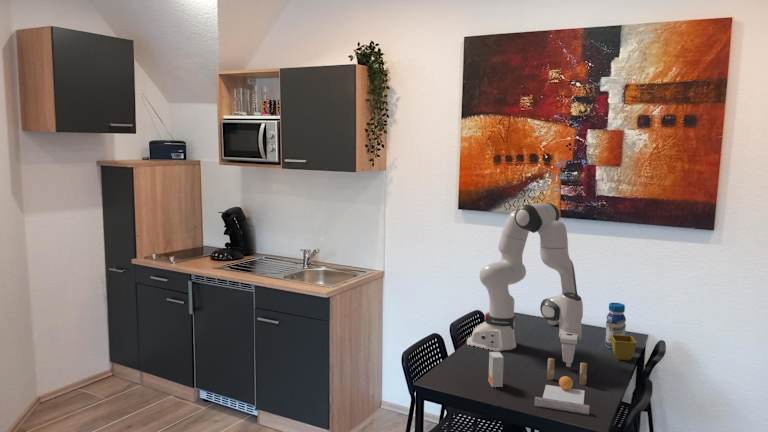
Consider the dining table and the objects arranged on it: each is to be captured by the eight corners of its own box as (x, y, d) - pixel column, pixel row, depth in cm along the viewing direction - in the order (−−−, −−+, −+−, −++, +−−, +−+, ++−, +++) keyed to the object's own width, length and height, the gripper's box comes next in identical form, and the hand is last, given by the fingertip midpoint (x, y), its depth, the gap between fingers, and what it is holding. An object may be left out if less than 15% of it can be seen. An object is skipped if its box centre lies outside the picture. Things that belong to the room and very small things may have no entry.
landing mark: (542, 399, 205) (542, 399, 205) (545, 385, 218) (545, 384, 218) (583, 406, 200) (583, 406, 200) (584, 391, 213) (584, 390, 213)
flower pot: (635, 362, 242) (636, 342, 241) (613, 361, 244) (614, 340, 243) (630, 355, 251) (632, 335, 250) (609, 354, 253) (611, 334, 252)
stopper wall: (534, 405, 200) (534, 398, 199) (535, 403, 202) (535, 396, 201) (588, 414, 193) (589, 407, 193) (589, 412, 195) (589, 405, 195)
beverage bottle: (621, 344, 266) (623, 302, 264) (626, 350, 258) (629, 307, 256) (602, 343, 267) (604, 301, 265) (607, 349, 259) (610, 306, 256)
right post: (579, 384, 219) (580, 364, 218) (579, 382, 221) (580, 362, 220) (585, 385, 218) (587, 365, 217) (586, 383, 220) (587, 363, 219)
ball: (559, 373, 217) (559, 386, 217) (558, 377, 212) (558, 391, 212) (573, 375, 215) (573, 388, 215) (572, 379, 210) (572, 392, 211)
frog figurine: (560, 327, 290) (561, 314, 289) (546, 326, 292) (546, 313, 291) (560, 324, 296) (561, 311, 295) (546, 322, 298) (547, 309, 297)
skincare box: (488, 381, 220) (489, 351, 219) (498, 381, 221) (500, 351, 219) (491, 388, 214) (492, 357, 213) (503, 387, 215) (504, 357, 213)
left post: (546, 379, 223) (547, 359, 222) (547, 377, 225) (548, 357, 224) (553, 380, 222) (554, 360, 221) (553, 378, 224) (554, 358, 224)
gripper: (564, 325, 243) (562, 356, 244) (560, 339, 224) (558, 373, 225) (579, 326, 240) (578, 358, 242) (577, 341, 221) (575, 375, 223)
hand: (568, 365), depth 233 cm, fingers closed
